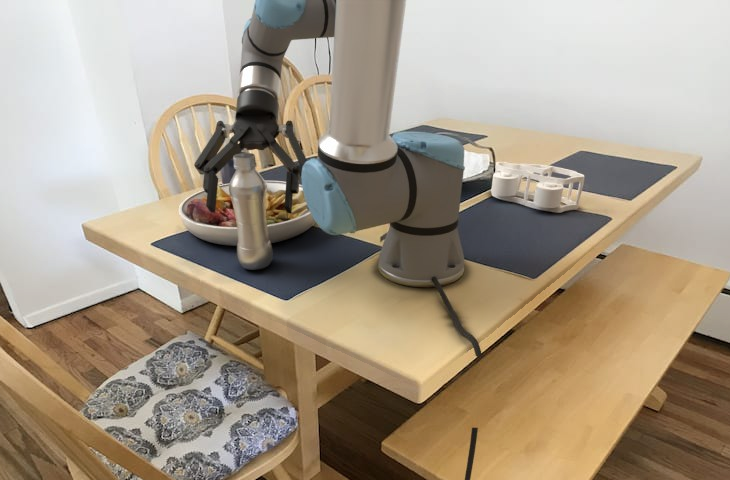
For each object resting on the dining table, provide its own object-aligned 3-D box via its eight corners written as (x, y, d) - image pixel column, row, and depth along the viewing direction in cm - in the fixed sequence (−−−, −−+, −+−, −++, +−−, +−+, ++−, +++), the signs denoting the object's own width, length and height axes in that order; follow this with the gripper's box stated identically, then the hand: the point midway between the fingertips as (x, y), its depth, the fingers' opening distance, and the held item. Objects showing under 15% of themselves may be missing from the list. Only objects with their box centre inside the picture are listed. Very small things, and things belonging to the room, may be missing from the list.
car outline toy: (479, 197, 130) (483, 166, 126) (506, 187, 136) (510, 157, 132) (557, 219, 117) (564, 185, 113) (582, 206, 124) (590, 174, 120)
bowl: (258, 192, 137) (255, 160, 132) (350, 219, 120) (350, 183, 116) (154, 228, 118) (146, 192, 113) (246, 266, 101) (241, 225, 97)
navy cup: (250, 196, 134) (246, 159, 130) (220, 196, 135) (215, 159, 130) (255, 186, 141) (252, 151, 136) (227, 187, 141) (222, 151, 136)
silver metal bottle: (232, 272, 99) (216, 160, 88) (248, 256, 104) (235, 149, 94) (265, 276, 97) (253, 162, 87) (279, 260, 103) (270, 151, 92)
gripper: (328, 112, 102) (323, 219, 97) (197, 113, 104) (186, 217, 99) (324, 86, 94) (318, 200, 90) (184, 87, 96) (170, 199, 92)
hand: (249, 209), depth 95 cm, fingers open, 13 cm apart
